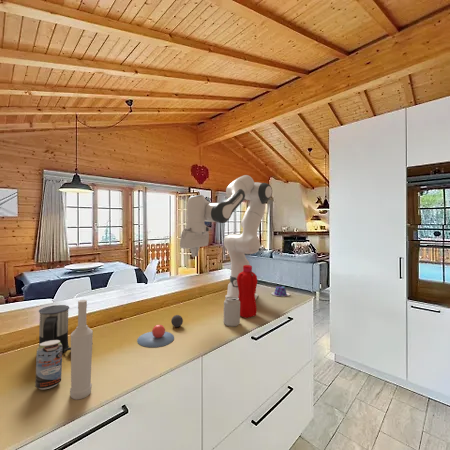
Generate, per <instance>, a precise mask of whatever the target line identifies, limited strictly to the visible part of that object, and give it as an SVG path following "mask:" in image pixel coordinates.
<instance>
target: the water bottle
mask: <svg viewBox="0 0 450 450" xmlns="http://www.w3.org/2000/svg"><path fill="white" fill-rule="evenodd" d="M237 285H238V290H239V297H238V298H239V301H240V317H241V318H244V319H246V318H248V319H249V318H251V317H255V316H256V315H257V312H258V311H257V310H258V309H257V302H256V300H255V293H256V294H257V285H258V276H257V275H256V273H254V272H253V266H252V265H251V264H250V265H244V266H243V271H242V272H241V273H239V274H238V277H237Z"/></svg>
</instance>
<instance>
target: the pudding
mask: <svg viewBox="0 0 450 450" xmlns="http://www.w3.org/2000/svg"><path fill="white" fill-rule="evenodd" d="M270 294H271V295H273V296H274V297H275V296H276V297H277V296H278V297H284V298H285V297H289V296H290V295H291V294H290V293H289V292H287V289H286V287H285V286H283V285H282V286H281V285H277V286H275V289H274V291H272V292H270Z"/></svg>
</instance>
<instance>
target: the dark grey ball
mask: <svg viewBox="0 0 450 450" xmlns="http://www.w3.org/2000/svg"><path fill="white" fill-rule="evenodd" d="M170 323H171V325H172V327H174V328H179V327H181V326H182V325H183V323H184V319H183V317H182V316H181V315H180V314H176V315H174V316H173V317H172V318H171V322H170Z"/></svg>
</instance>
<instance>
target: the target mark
mask: <svg viewBox="0 0 450 450" xmlns="http://www.w3.org/2000/svg"><path fill="white" fill-rule="evenodd" d="M174 340H175V336H174V334H173V333H171V332H169V331H165V334H164V335H163V336H162V337H161V338H155V337H154V336H153V334H152V331H148V332H145V333H143V334H141V335H139V336H138V337H137V340H136V342H137V344H138V345H140V346H141V347H145V348H160V347H161V348H162V347H164V346H167V345H170V344H171V343H172V342H173V341H174Z"/></svg>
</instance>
